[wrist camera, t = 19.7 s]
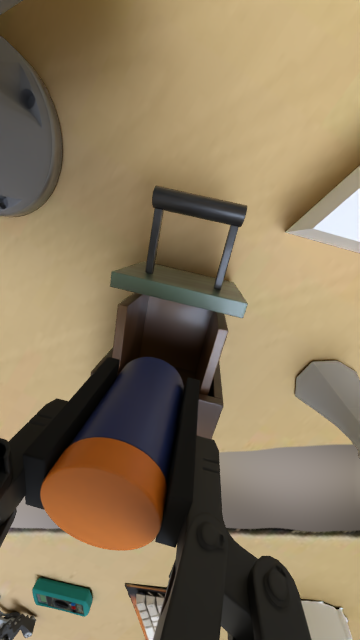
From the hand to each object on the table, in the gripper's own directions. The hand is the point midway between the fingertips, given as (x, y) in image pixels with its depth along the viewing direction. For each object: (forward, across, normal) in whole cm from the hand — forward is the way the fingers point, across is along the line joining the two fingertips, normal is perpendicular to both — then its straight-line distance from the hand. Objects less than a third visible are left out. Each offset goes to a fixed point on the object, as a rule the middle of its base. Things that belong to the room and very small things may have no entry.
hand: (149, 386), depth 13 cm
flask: (+15, +20, -4) cm, 25 cm away
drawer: (+13, 0, +3) cm, 14 cm away
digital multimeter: (+15, -13, -82) cm, 84 cm away
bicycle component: (+15, -29, -103) cm, 108 cm away
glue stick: (0, 0, 0) cm, 0 cm away
